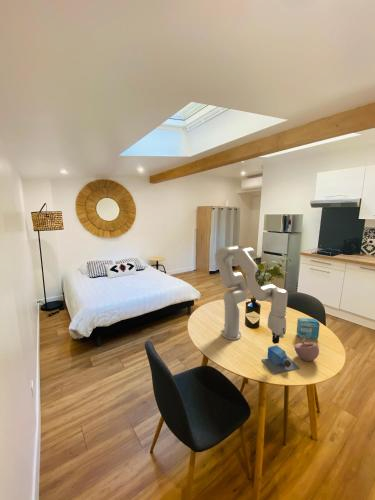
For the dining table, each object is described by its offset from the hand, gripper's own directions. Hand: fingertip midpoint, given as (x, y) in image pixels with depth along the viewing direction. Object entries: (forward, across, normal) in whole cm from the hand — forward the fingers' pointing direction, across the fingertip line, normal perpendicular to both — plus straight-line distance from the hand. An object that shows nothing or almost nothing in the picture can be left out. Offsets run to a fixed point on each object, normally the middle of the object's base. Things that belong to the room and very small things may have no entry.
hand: (275, 342), depth 123 cm
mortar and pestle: (+11, +3, +18) cm, 22 cm away
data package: (+11, -15, +35) cm, 40 cm away
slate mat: (+11, +4, +1) cm, 12 cm away
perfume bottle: (+8, -3, +1) cm, 8 cm away
